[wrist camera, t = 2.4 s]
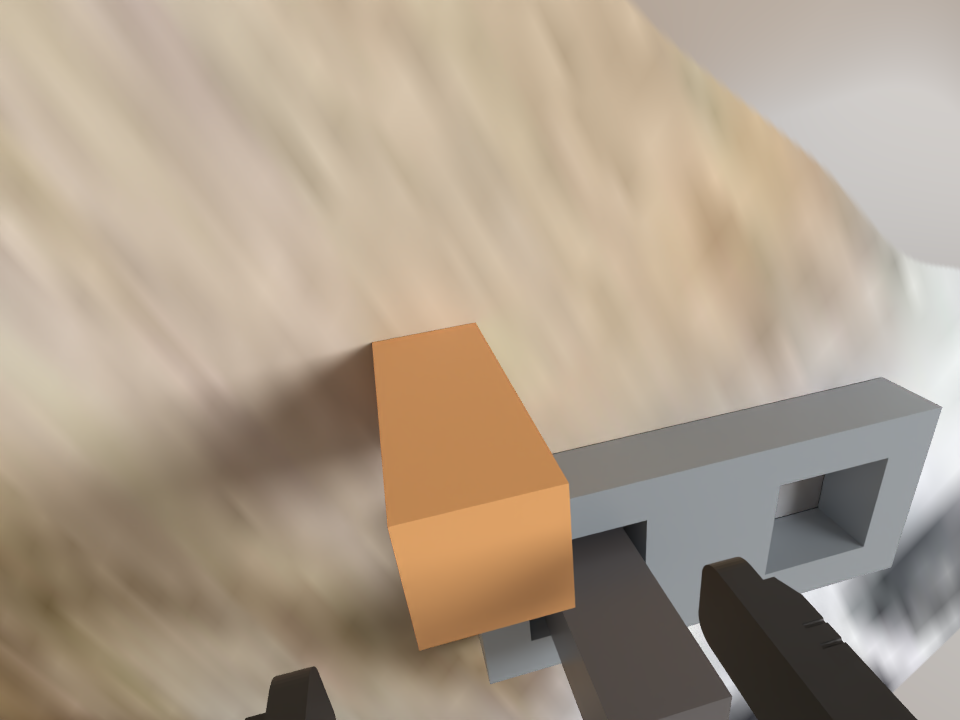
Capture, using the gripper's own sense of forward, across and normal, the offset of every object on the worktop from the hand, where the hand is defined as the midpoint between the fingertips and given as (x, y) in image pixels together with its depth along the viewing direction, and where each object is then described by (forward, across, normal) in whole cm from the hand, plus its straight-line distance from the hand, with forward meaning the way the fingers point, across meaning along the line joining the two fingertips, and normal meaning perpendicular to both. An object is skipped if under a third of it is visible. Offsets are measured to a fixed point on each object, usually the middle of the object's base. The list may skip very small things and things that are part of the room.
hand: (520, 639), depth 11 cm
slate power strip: (+12, -11, +10) cm, 19 cm away
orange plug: (+12, 0, 0) cm, 12 cm away
